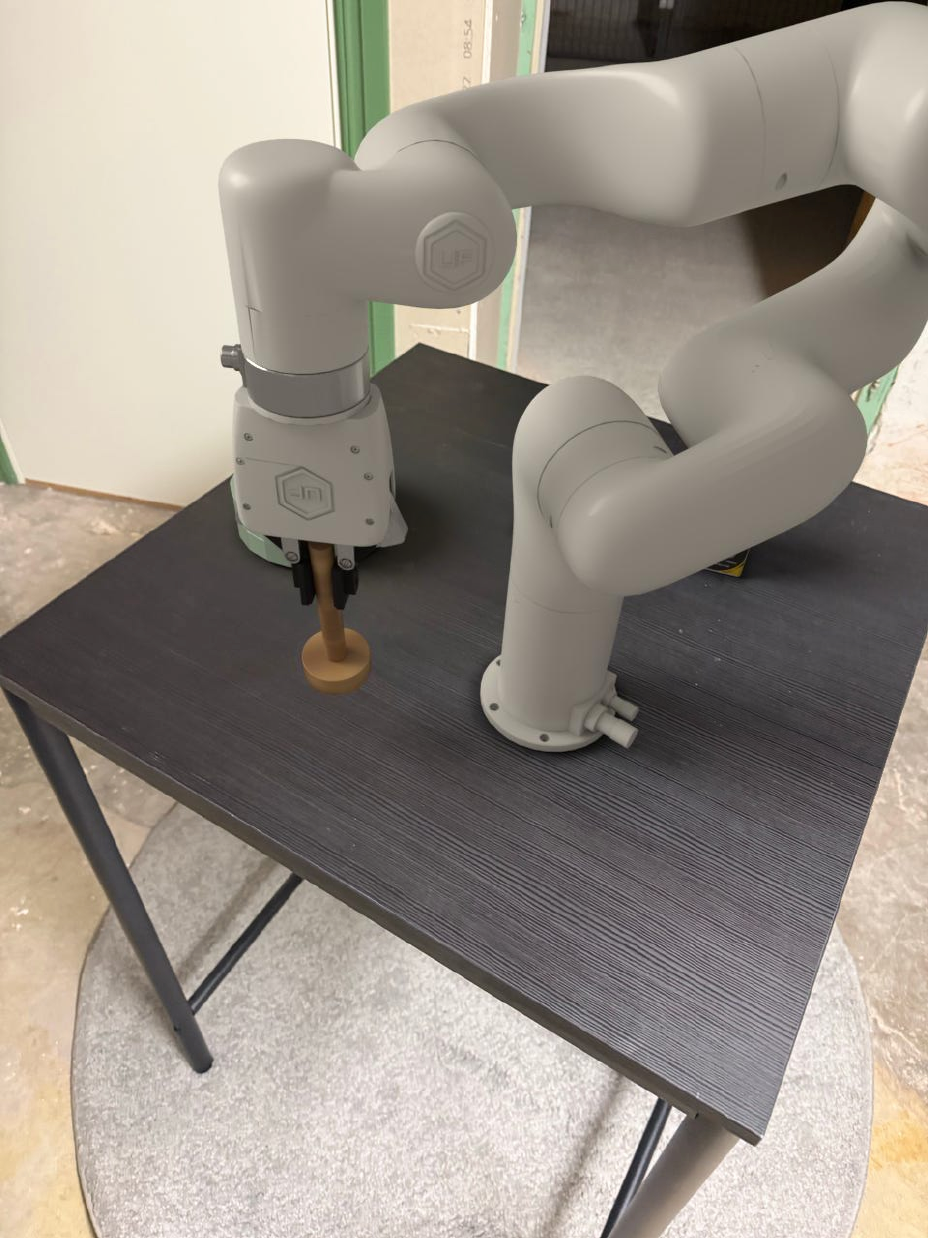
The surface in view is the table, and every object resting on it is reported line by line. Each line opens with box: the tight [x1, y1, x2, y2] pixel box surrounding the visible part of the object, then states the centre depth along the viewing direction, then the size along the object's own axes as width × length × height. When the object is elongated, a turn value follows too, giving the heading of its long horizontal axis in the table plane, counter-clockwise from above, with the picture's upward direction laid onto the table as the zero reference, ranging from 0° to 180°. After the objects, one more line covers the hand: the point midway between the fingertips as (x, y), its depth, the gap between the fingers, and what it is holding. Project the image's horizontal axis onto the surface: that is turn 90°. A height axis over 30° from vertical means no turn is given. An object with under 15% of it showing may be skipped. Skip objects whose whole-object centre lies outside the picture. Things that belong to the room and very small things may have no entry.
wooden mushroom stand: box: [301, 541, 372, 696], centre depth 67 cm, size 6×6×15 cm
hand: (327, 594), depth 65 cm, fingers closed on wooden mushroom stand
